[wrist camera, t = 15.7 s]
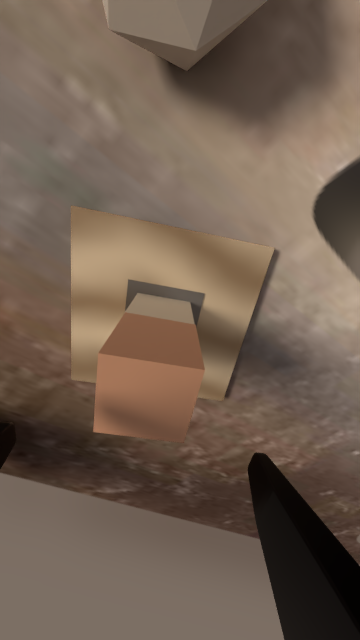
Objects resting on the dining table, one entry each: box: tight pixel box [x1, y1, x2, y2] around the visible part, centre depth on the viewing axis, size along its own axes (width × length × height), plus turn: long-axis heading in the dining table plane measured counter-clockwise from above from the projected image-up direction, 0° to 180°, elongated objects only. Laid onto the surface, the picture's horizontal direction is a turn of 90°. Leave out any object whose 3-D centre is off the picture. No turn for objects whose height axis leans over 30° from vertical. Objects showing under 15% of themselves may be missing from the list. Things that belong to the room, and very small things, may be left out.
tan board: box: [71, 206, 275, 401], centre depth 20 cm, size 16×16×1 cm
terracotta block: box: [93, 312, 205, 443], centre depth 12 cm, size 5×5×5 cm
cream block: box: [125, 293, 194, 324], centre depth 17 cm, size 5×5×5 cm
